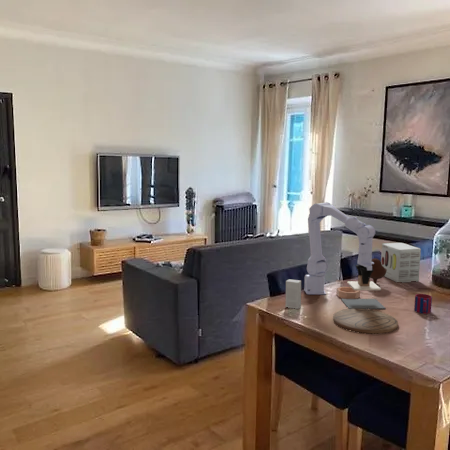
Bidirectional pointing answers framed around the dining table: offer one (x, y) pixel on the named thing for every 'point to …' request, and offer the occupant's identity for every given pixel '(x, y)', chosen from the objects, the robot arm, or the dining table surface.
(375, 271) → the ice cream bowl
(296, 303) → the skincare box
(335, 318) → the trivet
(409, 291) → the dining table surface
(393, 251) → the supplement box
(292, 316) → the dining table surface
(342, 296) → the bowl
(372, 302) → the mat
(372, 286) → the cover
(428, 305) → the mug
